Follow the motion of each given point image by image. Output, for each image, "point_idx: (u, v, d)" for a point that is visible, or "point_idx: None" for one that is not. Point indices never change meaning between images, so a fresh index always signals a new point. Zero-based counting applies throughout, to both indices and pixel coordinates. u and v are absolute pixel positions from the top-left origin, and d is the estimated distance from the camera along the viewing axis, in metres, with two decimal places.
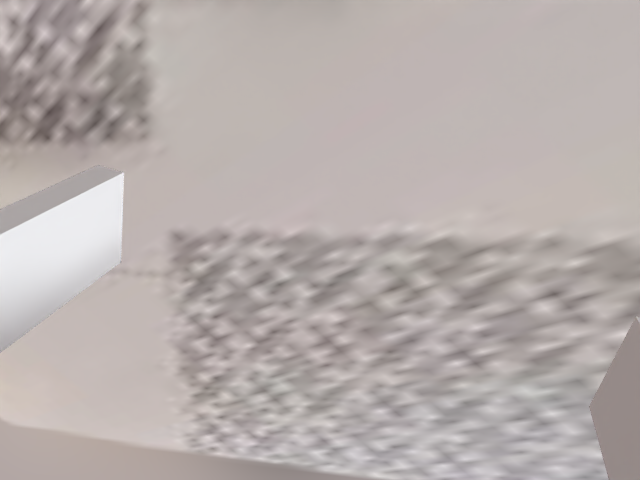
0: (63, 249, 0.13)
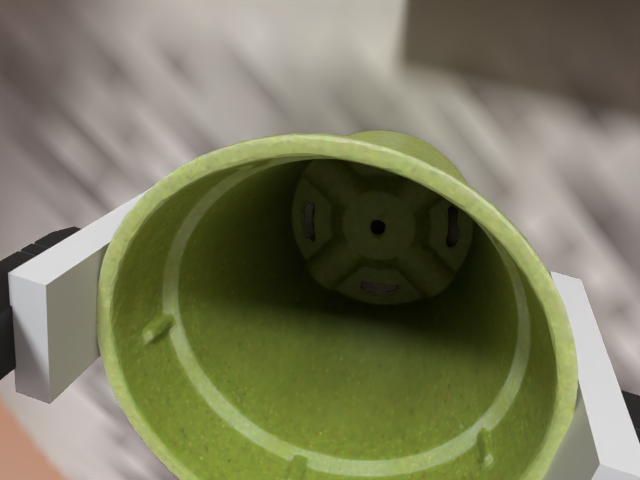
0: None
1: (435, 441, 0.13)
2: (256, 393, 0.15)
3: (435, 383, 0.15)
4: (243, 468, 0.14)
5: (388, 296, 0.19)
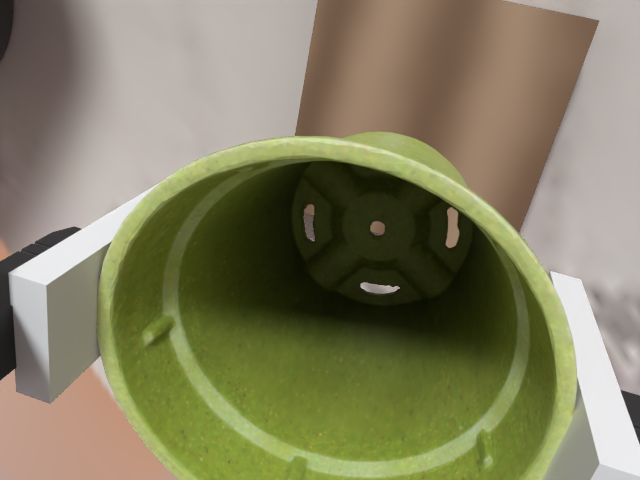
0: None
1: (434, 442, 0.14)
2: (256, 394, 0.15)
3: (435, 384, 0.15)
4: (242, 469, 0.14)
5: (387, 297, 0.19)
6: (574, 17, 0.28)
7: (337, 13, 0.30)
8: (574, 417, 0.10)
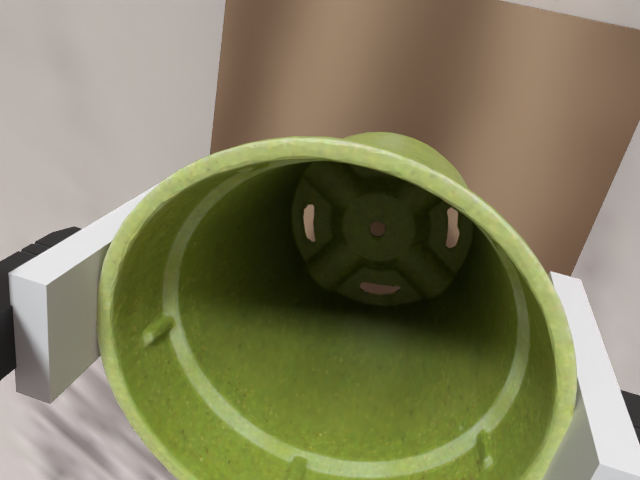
0: None
1: (434, 443, 0.13)
2: (256, 394, 0.15)
3: (434, 384, 0.15)
4: (243, 469, 0.14)
5: (388, 297, 0.19)
6: (634, 32, 0.17)
7: (256, 23, 0.19)
8: (574, 417, 0.10)
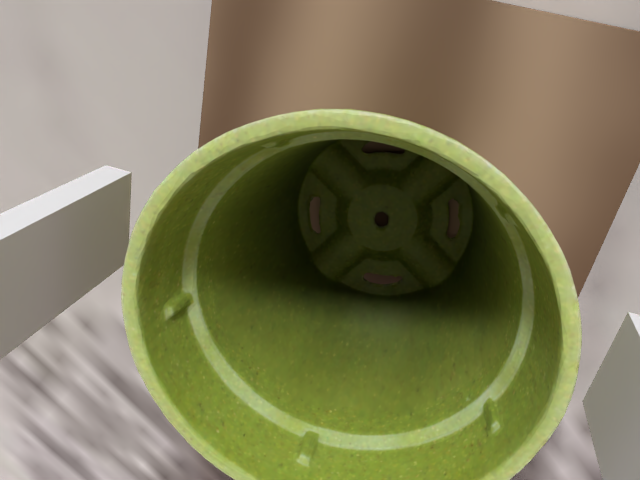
0: (72, 248, 0.13)
1: (442, 415, 0.14)
2: (268, 373, 0.15)
3: (439, 363, 0.16)
4: (257, 443, 0.14)
5: (390, 287, 0.20)
6: None
7: (244, 27, 0.18)
8: None
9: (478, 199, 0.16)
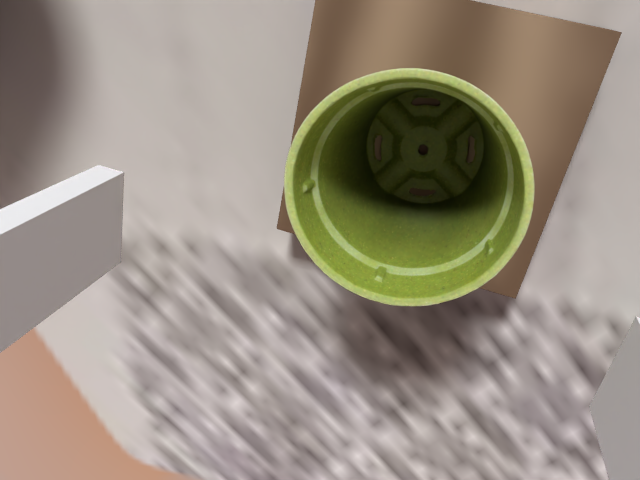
0: (63, 249, 0.13)
1: (460, 254, 0.24)
2: (354, 235, 0.25)
3: (460, 232, 0.26)
4: (351, 269, 0.24)
5: (427, 197, 0.30)
6: (594, 28, 0.25)
7: (335, 23, 0.28)
8: None
9: (486, 131, 0.25)
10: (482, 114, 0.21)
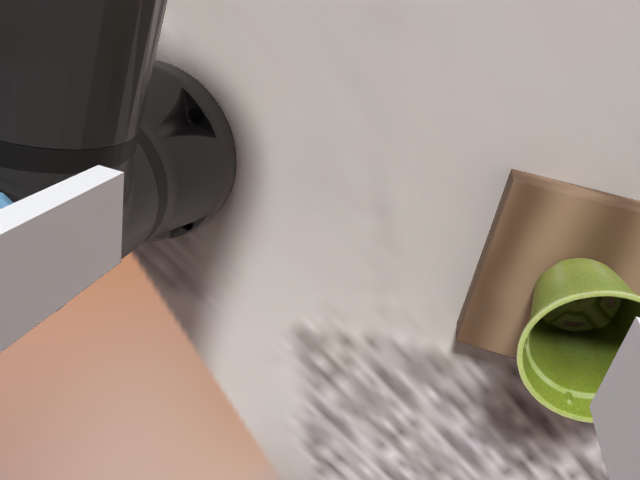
0: (63, 249, 0.13)
1: None
2: (545, 368, 0.38)
3: None
4: (551, 395, 0.37)
5: (576, 327, 0.42)
6: None
7: (520, 213, 0.40)
8: None
9: None
10: None
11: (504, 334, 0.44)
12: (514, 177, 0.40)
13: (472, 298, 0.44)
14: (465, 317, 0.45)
